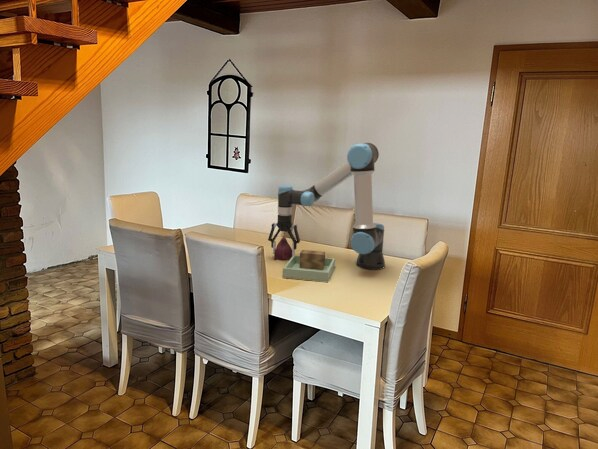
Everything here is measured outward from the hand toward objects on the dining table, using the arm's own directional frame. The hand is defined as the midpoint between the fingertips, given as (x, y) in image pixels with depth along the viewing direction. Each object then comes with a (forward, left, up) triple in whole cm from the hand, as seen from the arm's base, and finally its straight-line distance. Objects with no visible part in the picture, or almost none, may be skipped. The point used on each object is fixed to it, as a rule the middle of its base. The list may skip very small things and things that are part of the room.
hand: (283, 254), depth 252 cm
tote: (-18, +19, -3) cm, 26 cm away
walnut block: (-18, +12, -2) cm, 22 cm away
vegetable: (0, 0, -3) cm, 3 cm away
